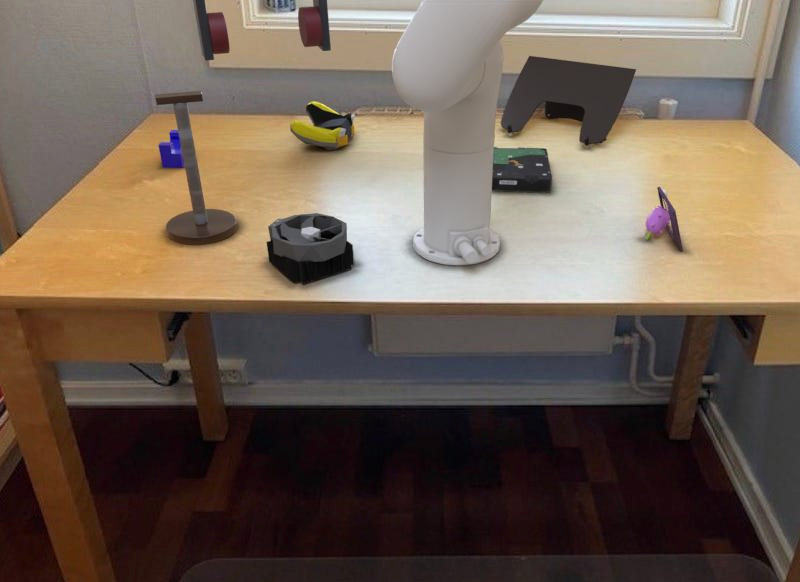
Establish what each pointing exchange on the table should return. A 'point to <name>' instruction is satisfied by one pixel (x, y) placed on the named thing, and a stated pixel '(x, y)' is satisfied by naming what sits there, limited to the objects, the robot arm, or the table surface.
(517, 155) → the disk drive
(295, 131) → the gaming controller
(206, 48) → the headset
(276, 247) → the cpu cooler
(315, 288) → the table surface
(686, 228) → the table surface
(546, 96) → the laptop tray
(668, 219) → the purple piece
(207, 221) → the stand
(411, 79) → the robot arm
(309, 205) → the table surface
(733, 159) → the table surface
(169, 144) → the cable holder
